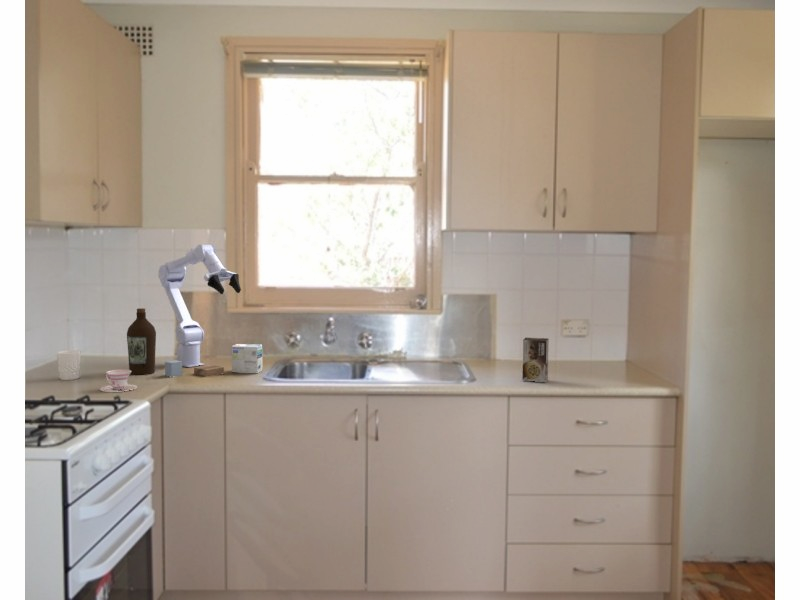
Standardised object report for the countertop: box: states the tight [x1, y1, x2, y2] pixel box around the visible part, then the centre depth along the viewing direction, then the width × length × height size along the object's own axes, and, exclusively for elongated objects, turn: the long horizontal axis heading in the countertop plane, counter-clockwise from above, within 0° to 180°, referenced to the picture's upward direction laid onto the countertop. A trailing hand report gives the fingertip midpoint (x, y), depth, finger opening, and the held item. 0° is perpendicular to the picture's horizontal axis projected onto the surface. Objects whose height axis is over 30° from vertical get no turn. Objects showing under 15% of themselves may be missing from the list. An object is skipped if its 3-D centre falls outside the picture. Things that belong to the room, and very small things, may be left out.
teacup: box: [99, 369, 138, 393], centre depth 243 cm, size 12×12×6 cm
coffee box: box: [521, 337, 549, 384], centre depth 266 cm, size 9×6×16 cm
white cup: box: [56, 349, 81, 381], centre depth 260 cm, size 8×8×10 cm
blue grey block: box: [164, 359, 183, 378], centre depth 268 cm, size 4×4×6 cm
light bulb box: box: [231, 343, 263, 374], centre depth 277 cm, size 11×7×11 cm, turn 84°
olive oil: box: [126, 307, 157, 376], centre depth 272 cm, size 11×11×25 cm
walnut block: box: [193, 364, 225, 377], centre depth 272 cm, size 8×8×3 cm
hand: (231, 291), depth 270 cm, fingers open, 7 cm apart
